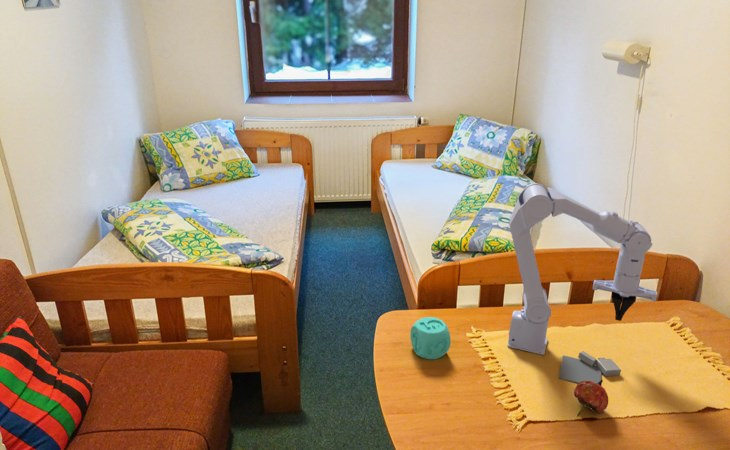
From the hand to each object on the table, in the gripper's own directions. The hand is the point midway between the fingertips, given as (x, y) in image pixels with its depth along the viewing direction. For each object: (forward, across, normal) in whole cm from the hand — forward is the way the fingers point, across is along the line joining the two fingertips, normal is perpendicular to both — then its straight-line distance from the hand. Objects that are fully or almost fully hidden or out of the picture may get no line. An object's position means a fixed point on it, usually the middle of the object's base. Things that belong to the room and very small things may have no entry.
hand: (618, 318), depth 142 cm
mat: (+10, -7, -12) cm, 17 cm away
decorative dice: (+11, -44, -19) cm, 49 cm away
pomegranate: (+11, -4, -26) cm, 28 cm away
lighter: (+9, -1, -12) cm, 15 cm away
